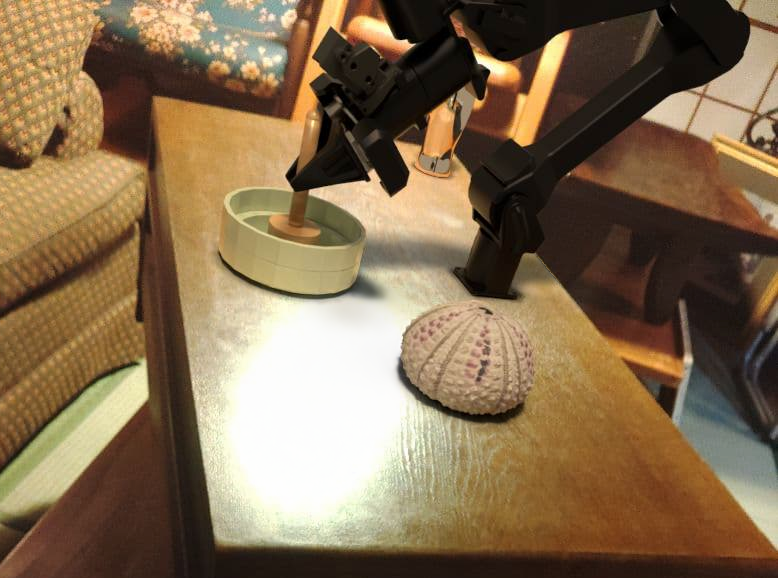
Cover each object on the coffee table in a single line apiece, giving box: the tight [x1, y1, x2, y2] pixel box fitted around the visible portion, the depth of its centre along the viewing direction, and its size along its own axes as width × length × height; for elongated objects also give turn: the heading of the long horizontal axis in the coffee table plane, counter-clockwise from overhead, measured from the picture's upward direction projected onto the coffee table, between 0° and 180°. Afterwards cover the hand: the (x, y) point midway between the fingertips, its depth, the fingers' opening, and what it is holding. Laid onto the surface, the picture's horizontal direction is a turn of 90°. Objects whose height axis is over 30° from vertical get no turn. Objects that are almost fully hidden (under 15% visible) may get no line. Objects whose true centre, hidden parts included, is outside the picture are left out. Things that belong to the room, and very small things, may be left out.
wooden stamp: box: [267, 108, 322, 246], centre depth 77 cm, size 6×6×14 cm
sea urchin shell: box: [399, 299, 538, 416], centre depth 69 cm, size 13×14×8 cm
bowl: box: [217, 186, 367, 295], centre depth 80 cm, size 15×15×6 cm
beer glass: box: [414, 87, 476, 178], centre depth 118 cm, size 7×7×15 cm
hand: (289, 184), depth 76 cm, fingers closed on wooden stamp
